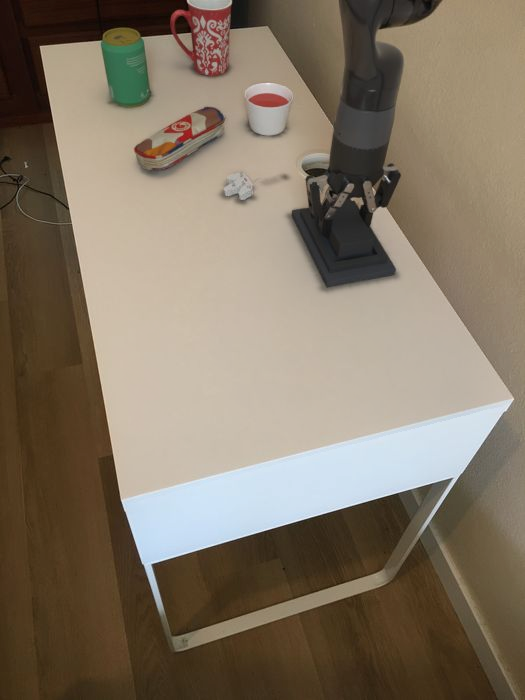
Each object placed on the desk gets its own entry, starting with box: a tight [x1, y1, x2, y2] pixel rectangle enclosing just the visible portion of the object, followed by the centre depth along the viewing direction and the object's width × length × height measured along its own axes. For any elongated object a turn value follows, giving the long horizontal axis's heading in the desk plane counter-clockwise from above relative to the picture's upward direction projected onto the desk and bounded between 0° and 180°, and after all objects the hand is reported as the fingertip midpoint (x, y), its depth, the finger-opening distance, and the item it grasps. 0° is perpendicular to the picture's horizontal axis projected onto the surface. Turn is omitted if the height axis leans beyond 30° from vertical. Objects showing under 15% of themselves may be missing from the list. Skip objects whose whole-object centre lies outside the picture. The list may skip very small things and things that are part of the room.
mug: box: [169, 0, 233, 77], centre depth 119 cm, size 13×9×14 cm
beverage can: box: [100, 27, 151, 108], centre depth 111 cm, size 8×8×12 cm
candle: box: [244, 82, 294, 137], centre depth 108 cm, size 9×9×6 cm
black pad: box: [317, 198, 375, 257], centre depth 88 cm, size 10×6×2 cm, turn 16°
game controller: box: [223, 172, 287, 201], centre depth 99 cm, size 6×12×3 cm, turn 136°
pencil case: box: [133, 106, 226, 171], centre depth 103 cm, size 11×20×5 cm, turn 129°
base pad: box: [291, 200, 397, 288], centre depth 90 cm, size 17×11×2 cm, turn 16°
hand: (343, 230), depth 88 cm, fingers closed on black pad, 5 cm apart
